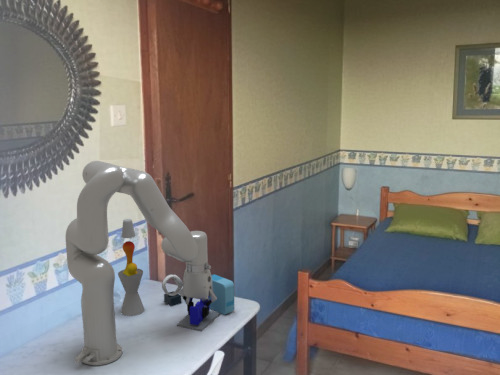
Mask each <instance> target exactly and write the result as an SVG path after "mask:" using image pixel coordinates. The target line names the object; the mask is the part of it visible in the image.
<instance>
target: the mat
mask: <svg viewBox="0 0 500 375" xmlns="http://www.w3.org/2000/svg"><path fill="white" fill-rule="evenodd" d="M220 315H221V314H220V313H219V312H216V311H214V310H210V311H209V314H208V316H206V317H205V318H203V320H202V321H201V322H200V323H199V325H194V324H190V315H188V314H187V315H186V316H185V317H184V318H182V319H181V320H180V321H178V322H177V324H176V325H175V326H176V327H180V328H183V329H189V330H194V331H199V332H202V331H204V330H205V329H206V328H207V327H208V326H210V324H212V323H213V322H214V321H215V319H216V318H218V317H219V316H220Z"/></svg>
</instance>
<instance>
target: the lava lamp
mask: <svg viewBox="0 0 500 375" xmlns="http://www.w3.org/2000/svg"><path fill="white" fill-rule="evenodd" d="M135 237H136V232H135V228H134V223H133V220H132V219H131V218H125V219H123V220H122V229H121V238H122V239H132V238H135ZM135 249H136V248H135V243H134V242H133V241H131V240H127V241H125V242H124V243H123V245H122V250H123V252H124V254H125V257H126V265H125V268H124V269H122V270H120V271H119V272H117V275H118V278H119V280H120V283H121V285H122V287H123V289H124V291H125V293H124V297H123V301H122V306H121V309H120V313H122V314H121V315H123V316H126V315H127V317H132V316H133V315H134V316H137V315H141V314H142V313H144V312H145V307H144V304H143V302H142V299H141V296H140V294H139V288H140V284H141V281H142V277H143V274H144V271H143V270H142V269H141V268H138V265H137V264H136V263H135V262H133V258H134V257H133V256H134V251H135Z"/></svg>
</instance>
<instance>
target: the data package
mask: <svg viewBox="0 0 500 375" xmlns="http://www.w3.org/2000/svg"><path fill="white" fill-rule="evenodd" d="M211 276H212V283H213V293H214V294H215V296H216V297H217V299H216V300H215V301H214V302H212V303H211V304H210V310H211V311H213V312H219V313H220V315H224V316H225V315H227V314H230V313H232V312H234V311H235V284H234V282H233V281H232V280H230V279H228V278H225V277H222V276H220V275H217V274H215V273H214V274H211ZM210 299H211V297H210V296H209V300H210Z"/></svg>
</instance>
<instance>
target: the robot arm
mask: <svg viewBox="0 0 500 375" xmlns="http://www.w3.org/2000/svg"><path fill="white" fill-rule="evenodd" d="M81 176H82V180H83V181H84V183H85V185H84V187H83V188H82V190H80V192H79V195H78V197H77V201H76V217H75V218H74V219H72V220H71V221H70V223H69V224H68V225H67V227H66V231H65V250H66V252H65V253H66V261H67V262H66V263H67V264H66V265H67V269H68V272H69V275H71V277H72V278H74V280H76V281H77V282H78V283H80V285H81V286H82V291H81V292H82V293H81V298H80V304H81V305H80V308H81V317H82V318H81V320H82V329H83V330H82V331H83V342H84V344H83V345H84V346H82V348H81V349H82V350H81V352H80V353H79V355H76V356H75V357H74V359H73V360H74V362H75V364H80V363H81V362H82V363H83V364H85V365H89V366H104V365H107V364H111V363H113V362H114V361H117V360H118V359H119V358H121V356H122V354H123V347H122V346H121V344H119V343H118V342H117V328H116V314H115V313H116V312H115V311H116V310H115V300H114V299H115V298H114V296H115V295H114V292H115V291H114V290H115V289H114V288H115V281H116V275H115V269H114V268H113V265H112V264H111V263H110V262H109V261H108V260H107V259H105V258H103V257H102V256H100V254H102V253H104V252H105V251H106V249H107V247H108V245H109V241H110V240H109V225H108V204H109V202H110V201H111V198H112V197H113V195H115V194H116V193H120V194H125V195H128V196H130V197H131V198H132V199H133V201H134V203H135V204H136V206H137V207H138V210H139V211H140V213H141V214H142V216H143V217H144V219H145V221H146V222H147V224H149V225H150V226H151V227H152V228H153V229H155V230H156V231H158V232H159V233H160V234H161V235H163V236H164V238H163V239H162V241H161V246H160V247H161V249H162V252H164V254H166V255H167V256H168V257H172V258H173V259H176V260H177V261H180V262H182V263H185V269H184V273H183V278H182V282H183V284H182V289H181V290H180V292H179V293H178V294H179V295H180V296H181V298H182V299H183V300H184V302H185V305H186V306H187V308H186V309H187V310H186V312H187V315H190V307H191V306H195V303H194V301H193V299H197V300H200V299H201V300H202V303H203V306H204V307H203V308H202V318H205V317H206V316H208V314H209V305H210V304H211V303H212V302H214V301H215V300H216V299H217V297H216V296H215V294H214V293H213V283H212V276H211V275H212V273H211V269H212V266H211V265H210V264H209V262H208V257H209V256H208V235H207V233H206V232H205V231H202V230H191V231H190V229H189V228H188V226H186V224H185V223H184V222H183V220H182V219H181V218H180V217H179V216H178V215H177V214H176V213H175V211H173V209H172V208H171V207H170V206H169V204H168V202H167V200H166V199H165V197H164V195H163V194H162V192H161V190H160V188H159V187H158V185H157V183H156V182H155V179H154V178H153V177H152V176H151V174H150V173H148V172H145V171H142V170H139V169H134V168H130V167H125V166H120V165H115V164H113V163H108V162H106V161H105V162H104V161H101V160H93V161H90V162H88V163H87V164H86V165H85V166H84V167H83V170H82V175H81ZM208 296H210V297H211V299H210V300H209V298H208Z"/></svg>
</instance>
